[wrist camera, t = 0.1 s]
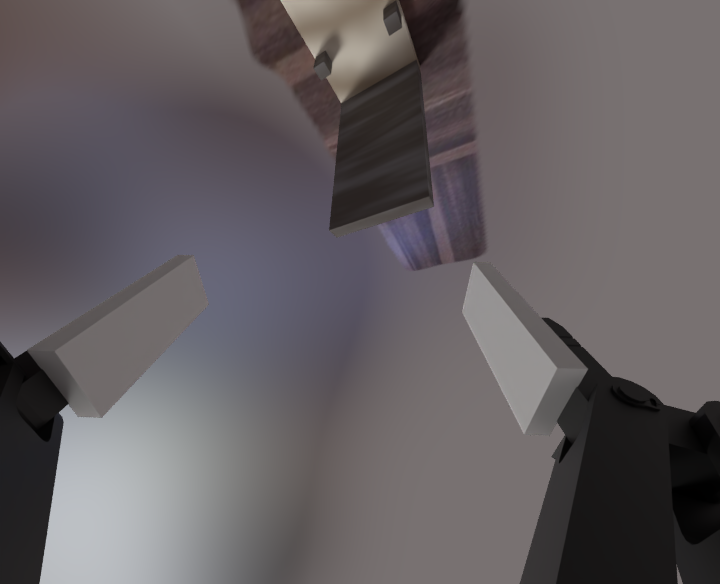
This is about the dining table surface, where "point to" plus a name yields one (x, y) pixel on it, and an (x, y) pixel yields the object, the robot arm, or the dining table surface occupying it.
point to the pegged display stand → (370, 108)
